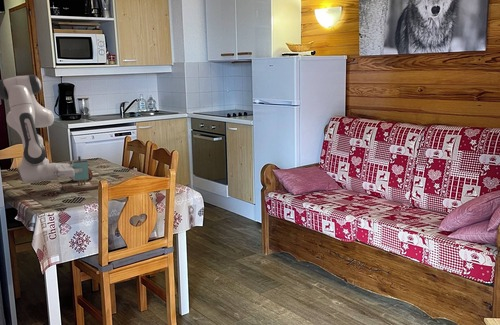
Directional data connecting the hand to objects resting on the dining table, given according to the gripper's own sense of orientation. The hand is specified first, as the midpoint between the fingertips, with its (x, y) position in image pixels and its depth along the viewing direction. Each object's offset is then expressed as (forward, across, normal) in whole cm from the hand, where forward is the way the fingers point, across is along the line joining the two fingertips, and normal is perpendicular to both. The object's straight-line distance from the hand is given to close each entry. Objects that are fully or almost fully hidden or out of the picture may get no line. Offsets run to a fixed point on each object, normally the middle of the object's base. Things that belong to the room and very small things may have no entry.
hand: (81, 168), depth 263 cm
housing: (0, 0, +6) cm, 6 cm away
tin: (+2, +16, +10) cm, 19 cm away
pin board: (0, 0, +10) cm, 10 cm away
